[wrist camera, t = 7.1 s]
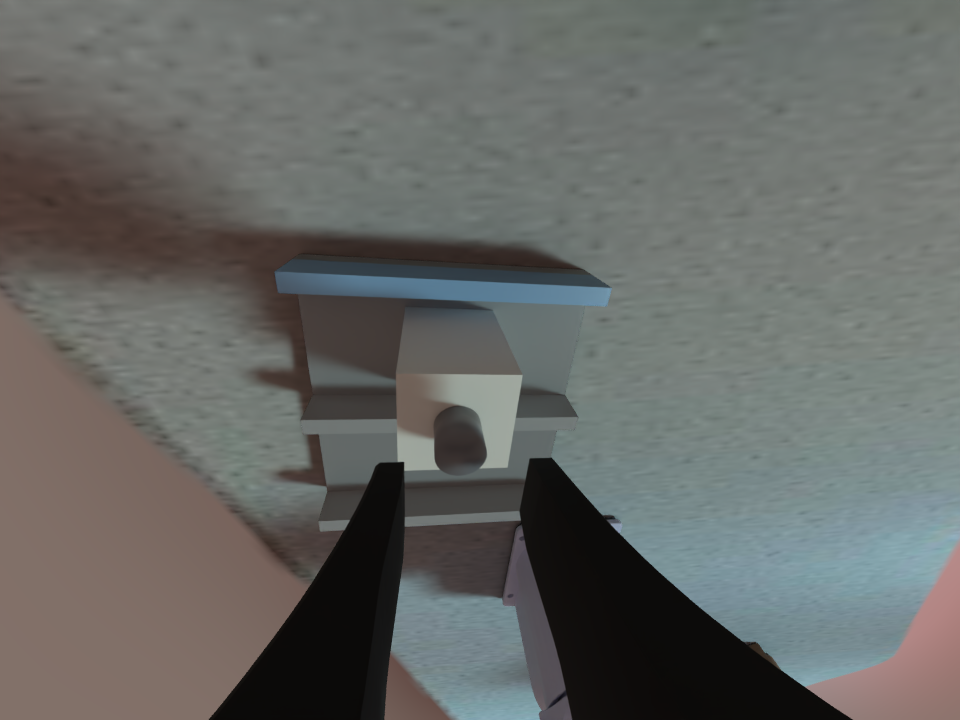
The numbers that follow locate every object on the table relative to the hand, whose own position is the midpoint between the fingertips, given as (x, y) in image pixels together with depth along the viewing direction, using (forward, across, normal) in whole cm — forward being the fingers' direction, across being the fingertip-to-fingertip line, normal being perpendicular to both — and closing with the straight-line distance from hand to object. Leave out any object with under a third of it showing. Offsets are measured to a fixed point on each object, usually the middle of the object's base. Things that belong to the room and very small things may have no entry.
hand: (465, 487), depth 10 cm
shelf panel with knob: (+10, 0, +3) cm, 10 cm away
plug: (+9, 0, 0) cm, 9 cm away
